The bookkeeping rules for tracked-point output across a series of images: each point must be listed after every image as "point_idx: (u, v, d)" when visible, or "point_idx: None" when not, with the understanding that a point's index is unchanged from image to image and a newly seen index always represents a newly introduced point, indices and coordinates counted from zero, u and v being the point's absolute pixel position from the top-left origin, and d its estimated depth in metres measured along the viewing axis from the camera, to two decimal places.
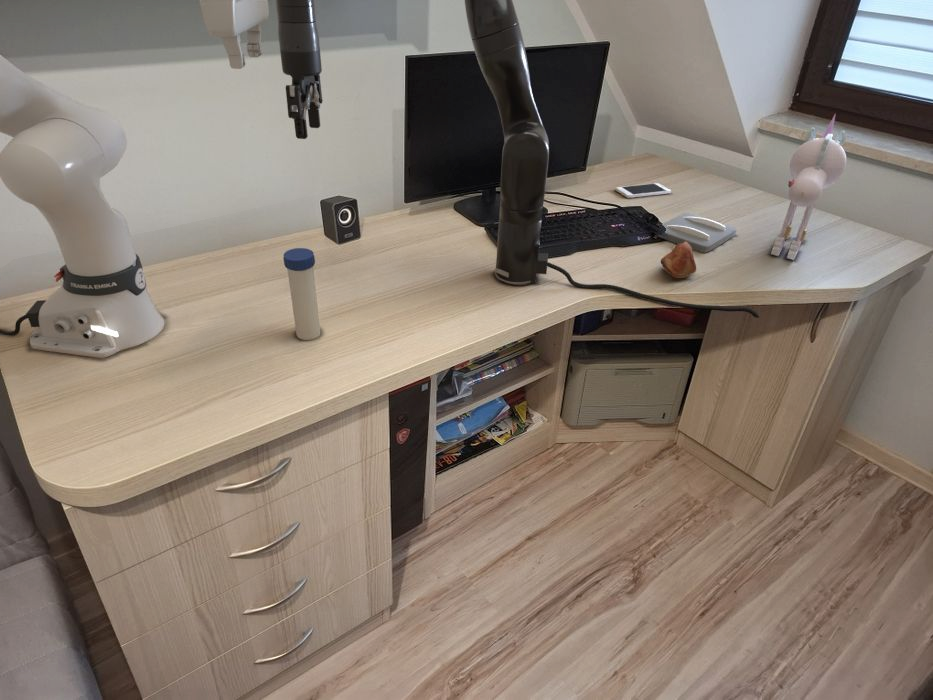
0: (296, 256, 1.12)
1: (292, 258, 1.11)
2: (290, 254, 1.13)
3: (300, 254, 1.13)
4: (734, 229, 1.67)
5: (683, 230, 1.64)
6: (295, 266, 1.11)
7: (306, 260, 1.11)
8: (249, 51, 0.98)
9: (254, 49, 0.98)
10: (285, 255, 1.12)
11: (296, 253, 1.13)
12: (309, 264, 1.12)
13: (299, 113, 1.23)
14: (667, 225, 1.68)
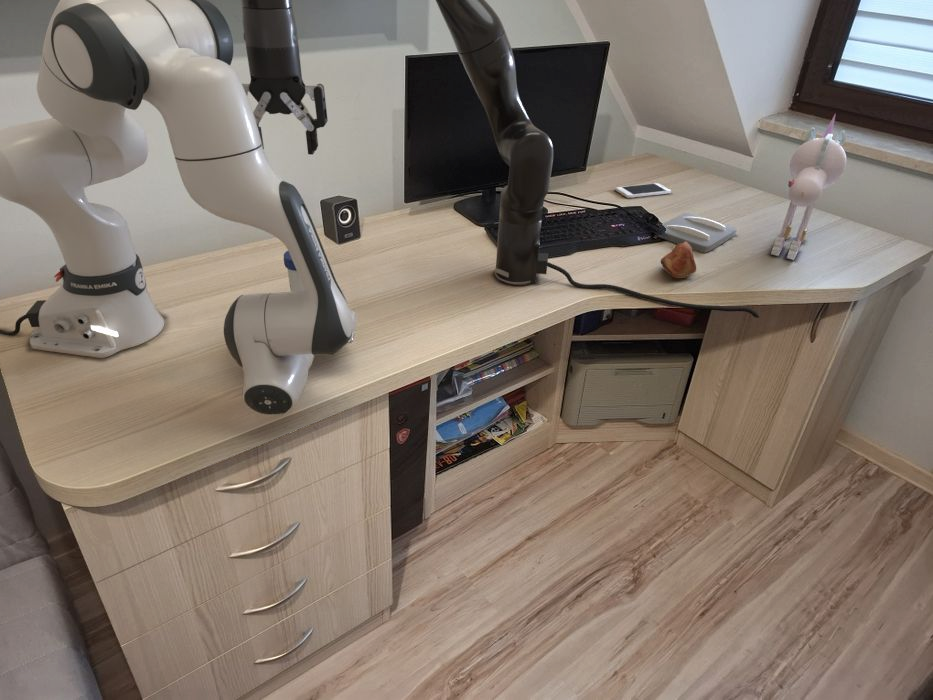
0: None
1: None
2: None
3: None
4: (734, 229, 1.67)
5: (683, 230, 1.64)
6: None
7: None
8: None
9: None
10: (285, 255, 1.12)
11: None
12: None
13: None
14: (667, 225, 1.68)
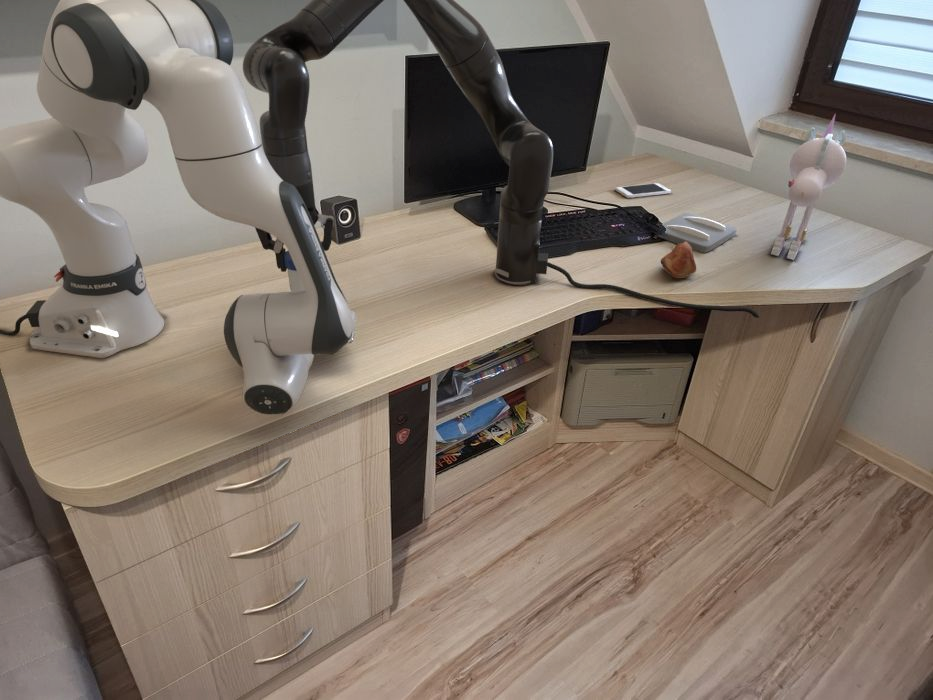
0: None
1: None
2: None
3: None
4: (734, 229, 1.67)
5: (683, 230, 1.64)
6: None
7: None
8: None
9: None
10: (285, 255, 1.12)
11: None
12: None
13: None
14: (667, 225, 1.68)
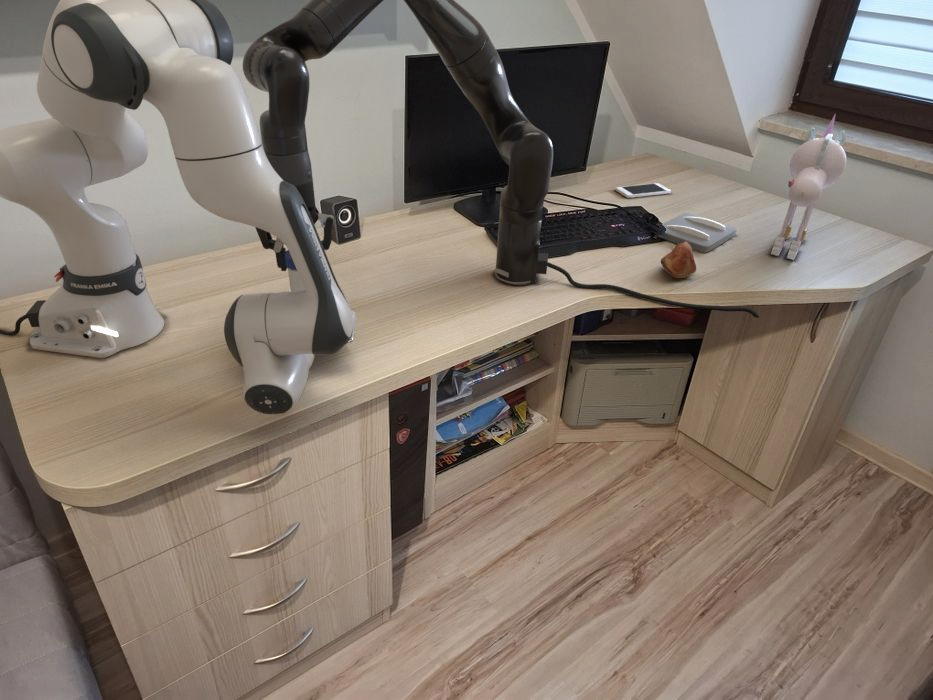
0: None
1: None
2: None
3: None
4: (734, 229, 1.67)
5: (683, 230, 1.64)
6: None
7: None
8: None
9: None
10: None
11: None
12: None
13: None
14: (667, 225, 1.68)
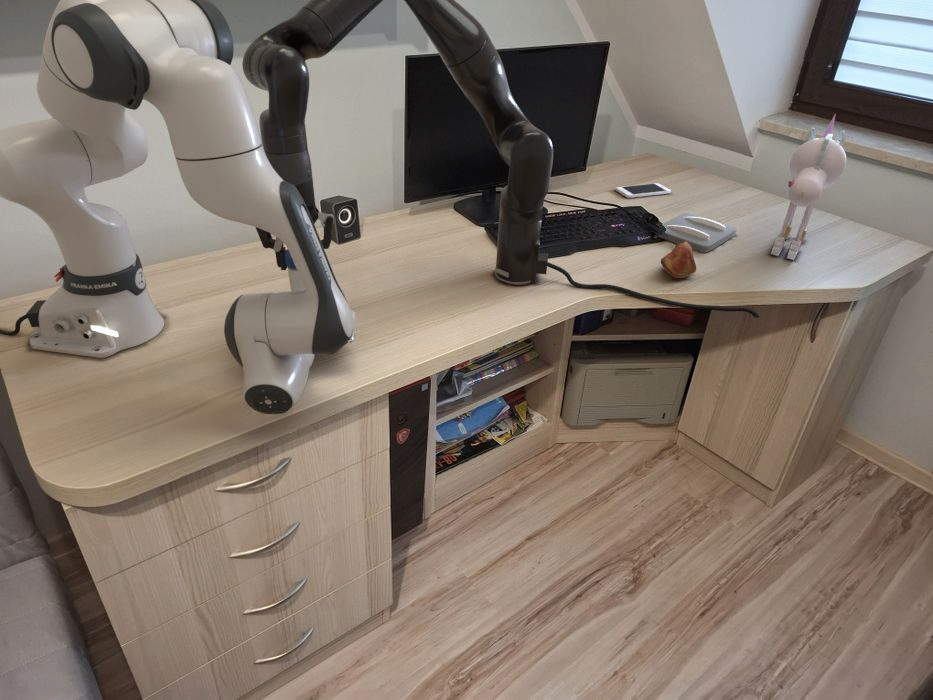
0: None
1: None
2: None
3: None
4: (734, 229, 1.67)
5: (683, 230, 1.64)
6: None
7: None
8: None
9: None
10: None
11: None
12: None
13: None
14: (667, 225, 1.68)
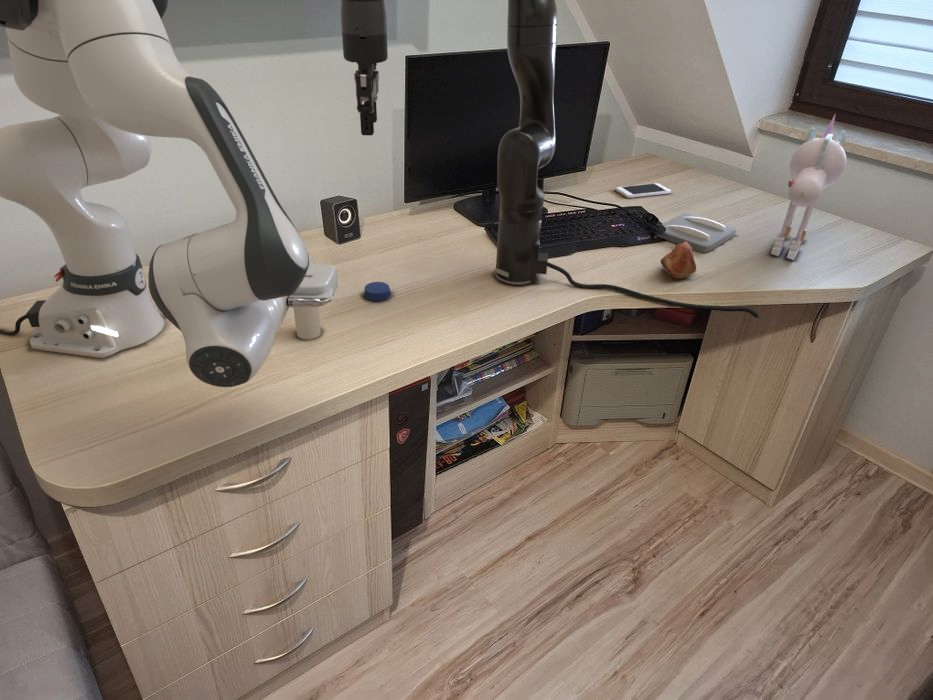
0: (377, 285, 1.35)
1: (380, 283, 1.36)
2: (383, 286, 1.34)
3: (375, 287, 1.34)
4: (734, 229, 1.67)
5: (683, 230, 1.64)
6: None
7: (369, 284, 1.36)
8: None
9: None
10: (387, 285, 1.35)
11: (378, 288, 1.34)
12: None
13: None
14: (667, 225, 1.68)
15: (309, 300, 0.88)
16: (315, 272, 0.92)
